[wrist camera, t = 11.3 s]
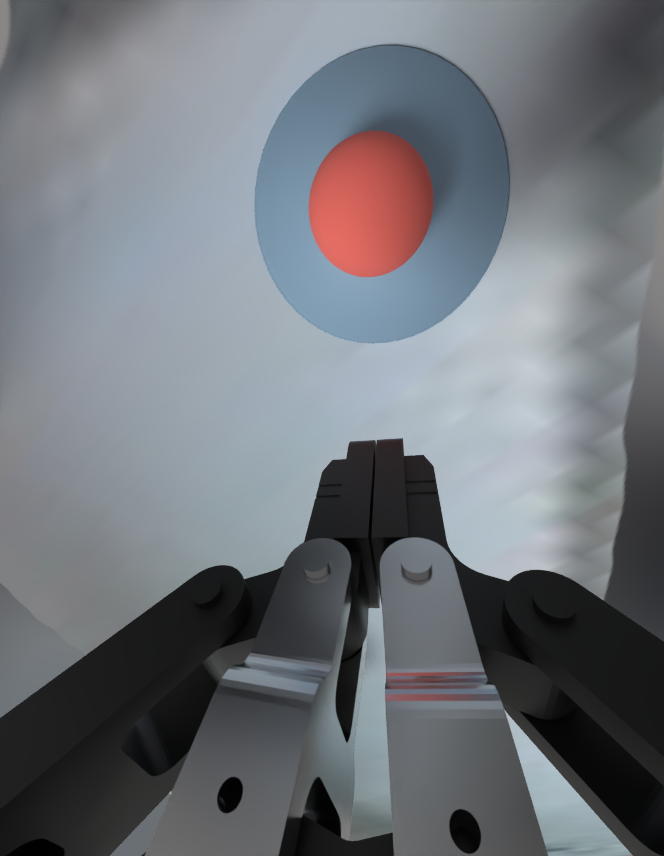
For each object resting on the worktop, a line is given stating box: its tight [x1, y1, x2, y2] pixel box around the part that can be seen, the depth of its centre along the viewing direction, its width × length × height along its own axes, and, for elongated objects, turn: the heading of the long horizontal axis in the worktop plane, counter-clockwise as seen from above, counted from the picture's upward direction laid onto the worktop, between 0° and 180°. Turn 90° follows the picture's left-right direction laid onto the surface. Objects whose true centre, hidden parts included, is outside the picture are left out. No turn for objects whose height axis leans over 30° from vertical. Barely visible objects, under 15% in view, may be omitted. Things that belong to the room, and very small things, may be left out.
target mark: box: [255, 46, 509, 343], centre depth 20 cm, size 14×14×1 cm
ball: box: [309, 131, 433, 277], centre depth 17 cm, size 6×6×6 cm
